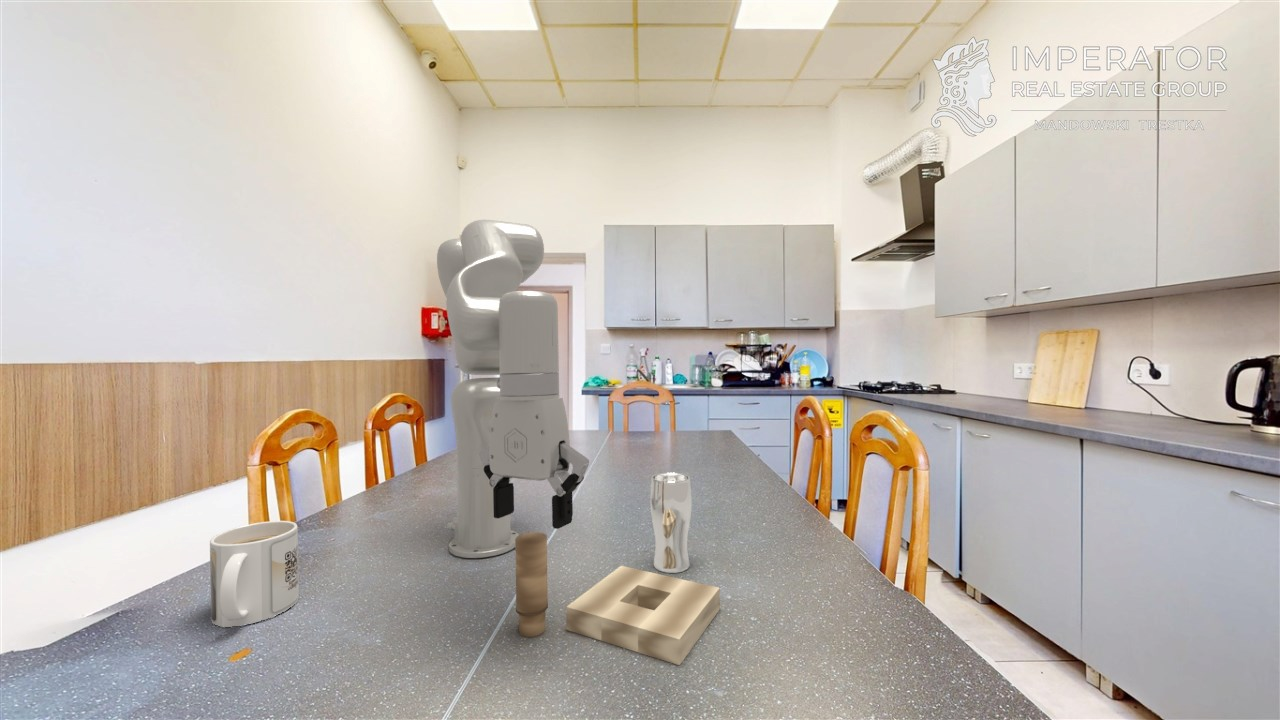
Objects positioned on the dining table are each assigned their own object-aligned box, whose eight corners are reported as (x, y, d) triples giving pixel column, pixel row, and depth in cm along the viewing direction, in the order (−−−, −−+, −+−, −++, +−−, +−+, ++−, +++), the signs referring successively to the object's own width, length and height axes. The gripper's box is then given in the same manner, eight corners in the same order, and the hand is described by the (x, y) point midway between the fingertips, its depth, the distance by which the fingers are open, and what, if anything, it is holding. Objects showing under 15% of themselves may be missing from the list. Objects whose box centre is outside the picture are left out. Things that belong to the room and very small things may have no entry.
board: (566, 629, 63) (566, 606, 63) (621, 584, 76) (620, 565, 76) (679, 665, 56) (679, 639, 56) (719, 609, 68) (719, 587, 68)
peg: (509, 633, 63) (508, 540, 63) (530, 618, 66) (529, 530, 66) (534, 642, 61) (532, 545, 61) (554, 625, 64) (553, 535, 64)
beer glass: (689, 576, 79) (689, 483, 79) (647, 572, 80) (646, 481, 80) (693, 558, 85) (693, 473, 85) (654, 555, 87) (653, 471, 87)
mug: (318, 599, 72) (317, 524, 72) (226, 644, 61) (225, 556, 61) (268, 588, 76) (267, 517, 76) (173, 629, 64) (172, 546, 64)
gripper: (459, 389, 64) (461, 520, 64) (566, 389, 56) (569, 539, 56) (501, 386, 71) (503, 505, 70) (601, 386, 62) (604, 520, 62)
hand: (532, 520), depth 63 cm, fingers open, 9 cm apart
